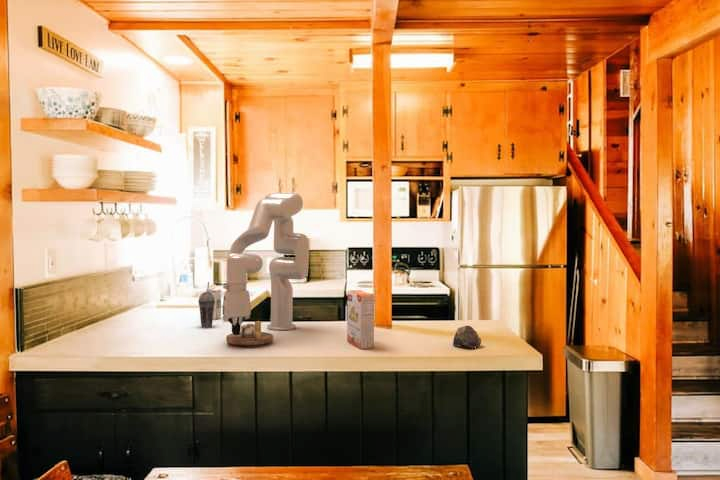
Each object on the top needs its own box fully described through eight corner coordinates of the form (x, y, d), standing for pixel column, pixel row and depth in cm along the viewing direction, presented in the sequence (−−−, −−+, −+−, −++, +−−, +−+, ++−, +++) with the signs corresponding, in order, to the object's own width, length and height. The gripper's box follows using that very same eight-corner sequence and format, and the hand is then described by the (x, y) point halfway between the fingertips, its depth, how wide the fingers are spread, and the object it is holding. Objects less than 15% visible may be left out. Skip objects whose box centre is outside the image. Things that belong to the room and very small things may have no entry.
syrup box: (209, 317, 281) (209, 287, 281) (221, 318, 280) (221, 288, 280) (204, 319, 276) (204, 289, 275) (216, 320, 275) (216, 289, 274)
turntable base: (231, 341, 230) (231, 339, 230) (257, 338, 236) (257, 336, 236) (242, 347, 221) (242, 345, 221) (268, 344, 227) (268, 341, 227)
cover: (238, 335, 229) (238, 323, 229) (254, 333, 233) (254, 321, 233) (245, 339, 223) (245, 326, 223) (262, 337, 227) (262, 324, 227)
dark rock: (474, 349, 222) (463, 325, 224) (454, 357, 227) (444, 333, 229) (485, 343, 231) (474, 320, 233) (466, 351, 236) (455, 328, 238)
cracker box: (345, 341, 234) (346, 290, 233) (359, 340, 236) (360, 289, 235) (359, 349, 221) (360, 295, 220) (374, 348, 224) (375, 294, 223)
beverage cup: (194, 327, 257) (194, 282, 256) (204, 324, 264) (205, 280, 263) (208, 329, 254) (208, 283, 253) (218, 326, 261) (218, 281, 260)
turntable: (219, 337, 231) (219, 316, 231) (261, 333, 241) (261, 313, 241) (236, 347, 216) (237, 324, 216) (280, 341, 226) (280, 320, 226)
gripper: (221, 289, 217) (220, 338, 218) (258, 287, 226) (257, 334, 226) (214, 287, 223) (214, 334, 224) (250, 285, 232) (250, 331, 233)
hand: (236, 334), depth 225 cm, fingers closed
